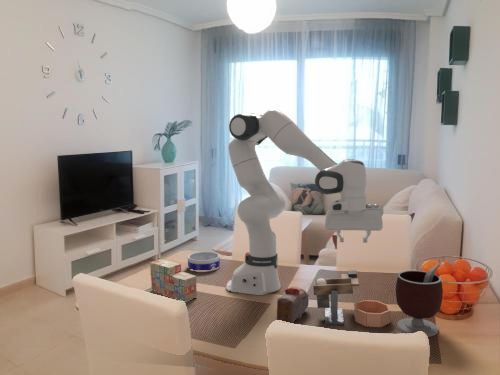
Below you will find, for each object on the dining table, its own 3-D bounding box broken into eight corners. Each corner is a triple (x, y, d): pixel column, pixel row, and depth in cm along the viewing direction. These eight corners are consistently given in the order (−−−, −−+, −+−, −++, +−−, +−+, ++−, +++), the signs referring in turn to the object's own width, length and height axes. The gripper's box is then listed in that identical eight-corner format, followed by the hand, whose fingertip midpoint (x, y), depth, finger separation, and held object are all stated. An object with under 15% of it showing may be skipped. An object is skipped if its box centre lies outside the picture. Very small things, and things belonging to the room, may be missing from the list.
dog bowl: (206, 275, 192) (206, 262, 191) (181, 269, 201) (180, 257, 200) (226, 266, 205) (225, 254, 204) (201, 261, 213) (201, 249, 212)
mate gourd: (417, 341, 127) (419, 277, 124) (385, 323, 139) (387, 264, 137) (454, 331, 133) (457, 270, 131) (421, 314, 146) (422, 258, 143)
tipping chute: (315, 309, 142) (313, 285, 141) (316, 290, 159) (314, 269, 159) (361, 307, 139) (360, 283, 138) (357, 288, 157) (355, 267, 156)
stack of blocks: (197, 298, 164) (196, 268, 162) (184, 303, 159) (183, 272, 158) (163, 286, 178) (162, 258, 177) (151, 291, 173) (149, 261, 172)
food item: (289, 306, 155) (289, 280, 154) (310, 310, 151) (310, 283, 150) (274, 321, 143) (274, 293, 142) (296, 325, 139) (296, 297, 138)
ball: (317, 291, 143) (314, 281, 142) (317, 287, 146) (314, 277, 146) (327, 289, 142) (325, 279, 142) (327, 286, 146) (325, 276, 145)
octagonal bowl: (355, 325, 138) (356, 312, 137) (353, 311, 149) (353, 299, 148) (391, 327, 136) (391, 314, 136) (386, 313, 147) (386, 301, 147)
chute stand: (325, 324, 140) (325, 291, 138) (325, 310, 151) (325, 279, 149) (343, 325, 139) (344, 291, 137) (342, 311, 150) (342, 280, 148)
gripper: (382, 203, 153) (381, 240, 154) (324, 203, 156) (325, 239, 158) (384, 205, 147) (384, 244, 148) (325, 205, 150) (325, 243, 152)
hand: (353, 242), depth 153 cm, fingers open, 7 cm apart
